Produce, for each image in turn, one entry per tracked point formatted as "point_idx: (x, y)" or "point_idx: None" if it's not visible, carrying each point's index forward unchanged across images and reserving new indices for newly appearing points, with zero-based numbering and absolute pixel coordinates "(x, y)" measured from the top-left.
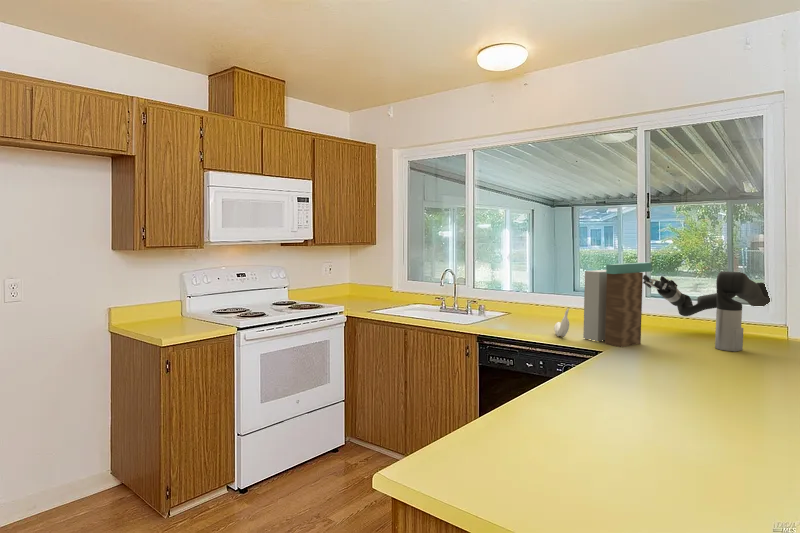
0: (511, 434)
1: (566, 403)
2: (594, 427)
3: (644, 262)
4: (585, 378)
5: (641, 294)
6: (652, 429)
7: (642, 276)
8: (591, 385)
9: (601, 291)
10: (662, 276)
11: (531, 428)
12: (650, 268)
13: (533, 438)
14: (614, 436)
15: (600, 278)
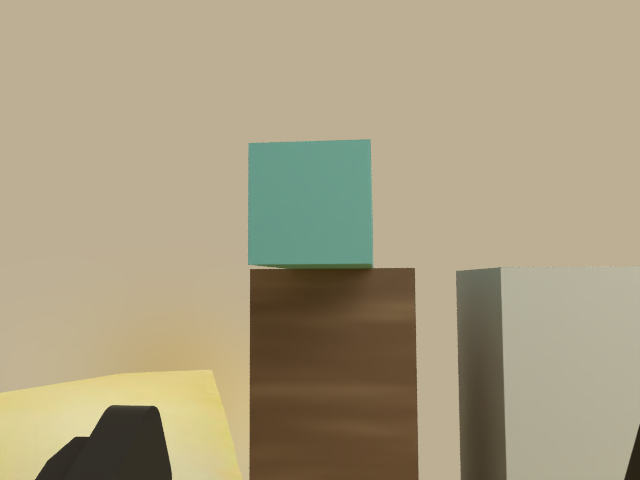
0: (177, 392)
1: (168, 422)
2: None
3: (343, 144)
4: (195, 464)
5: (251, 469)
6: (51, 423)
7: (250, 303)
8: (169, 454)
9: (463, 401)
10: (117, 409)
11: (168, 398)
12: (251, 222)
13: (156, 394)
14: (89, 410)
15: (458, 312)
